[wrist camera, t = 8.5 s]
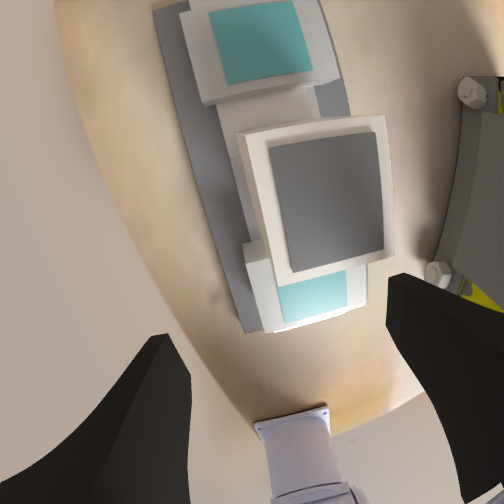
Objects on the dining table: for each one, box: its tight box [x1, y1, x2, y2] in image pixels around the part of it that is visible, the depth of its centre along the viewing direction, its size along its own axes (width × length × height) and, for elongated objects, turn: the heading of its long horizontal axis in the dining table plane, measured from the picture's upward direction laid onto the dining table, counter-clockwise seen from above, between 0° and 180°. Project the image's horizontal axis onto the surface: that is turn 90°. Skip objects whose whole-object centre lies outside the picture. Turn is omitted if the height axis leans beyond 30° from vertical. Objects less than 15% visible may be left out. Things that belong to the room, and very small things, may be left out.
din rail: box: [189, 0, 345, 332], centre depth 14 cm, size 21×5×1 cm, turn 13°
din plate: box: [153, 0, 368, 334], centre depth 15 cm, size 21×9×1 cm, turn 13°
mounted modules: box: [179, 0, 366, 334], centre depth 13 cm, size 16×6×2 cm, turn 13°
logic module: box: [236, 115, 394, 287], centre depth 11 cm, size 4×4×7 cm
